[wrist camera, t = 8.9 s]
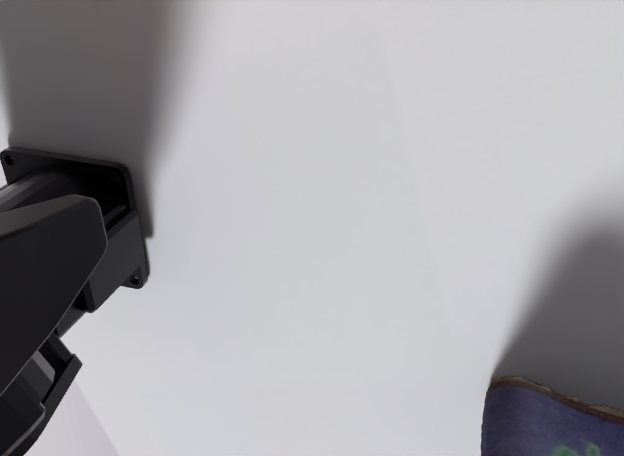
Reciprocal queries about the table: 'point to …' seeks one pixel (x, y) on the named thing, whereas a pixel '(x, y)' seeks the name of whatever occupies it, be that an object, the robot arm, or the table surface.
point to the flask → (546, 423)
